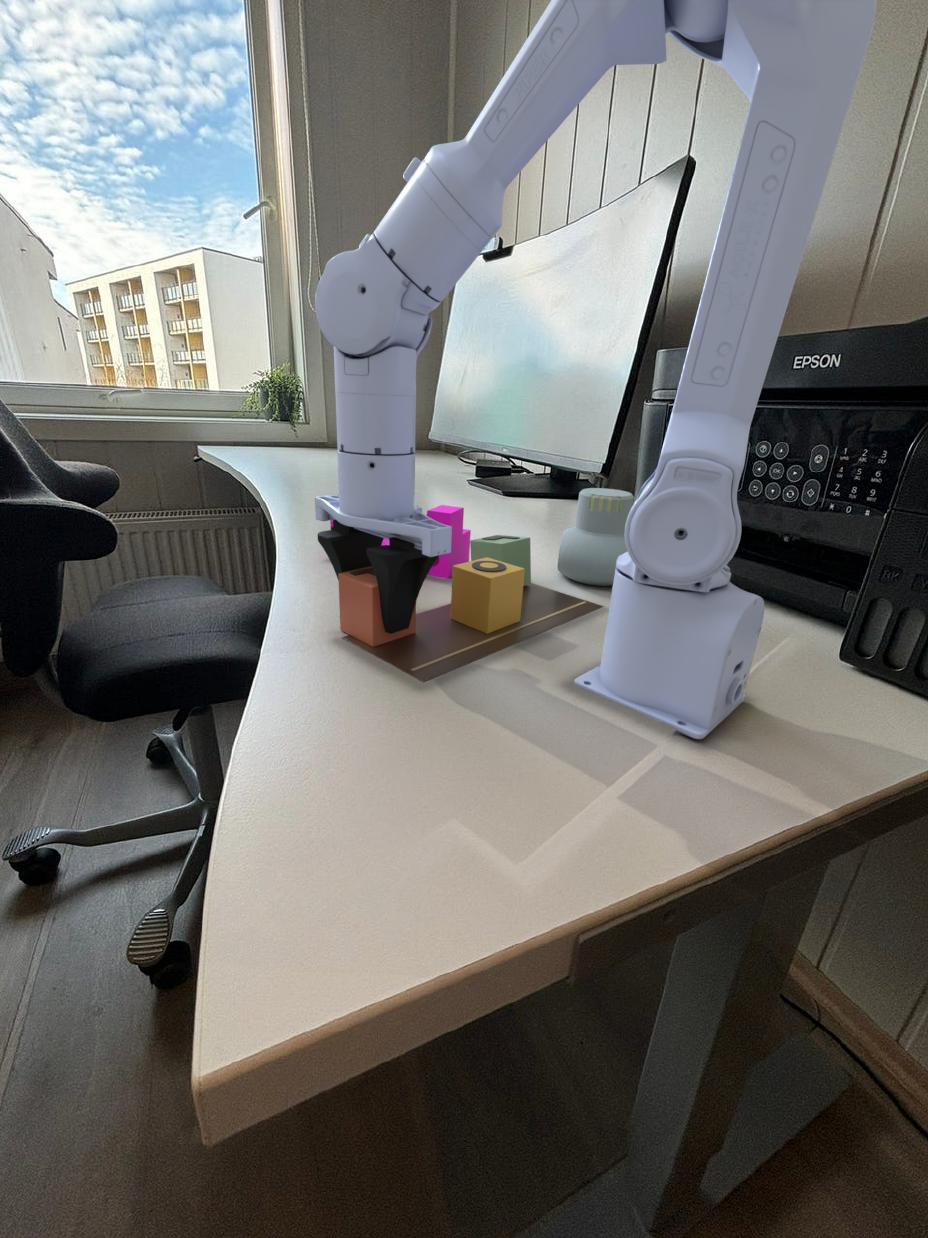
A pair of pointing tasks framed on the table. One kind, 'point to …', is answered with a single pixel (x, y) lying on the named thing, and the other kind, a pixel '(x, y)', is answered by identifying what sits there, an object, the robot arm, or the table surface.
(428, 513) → the toy block
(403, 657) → the word board
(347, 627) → the orange letter t block
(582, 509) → the air freshener
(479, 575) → the yellow cube
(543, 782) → the table surface
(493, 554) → the green square block
